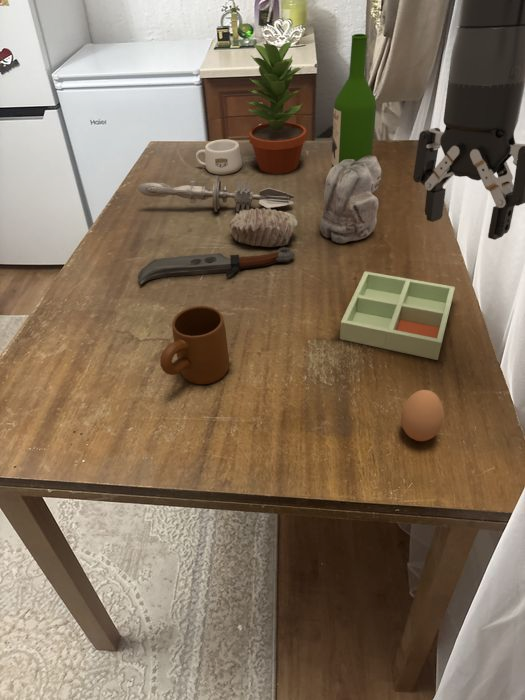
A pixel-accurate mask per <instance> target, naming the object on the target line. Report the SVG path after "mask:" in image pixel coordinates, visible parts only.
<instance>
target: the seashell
mask: <svg viewBox="0 0 525 700" xmlns="http://www.w3.org/2000/svg"><path fill="white" fill-rule="evenodd" d="M298 224H299V221H298V219H297V218H296V216H295V215H294V214H292V213H289V212H285V211H282V210H277V209H272V208H266V207H262V208H258V207H256V208H255V209H254V208H249V210H246V209H244V210H243V211H241V210H239V211H238V212H235V215H234V216H233V218H232V219H231V221H230V222H229V228H230V233H231V236H232V238H233V239H234V240H235V242H238V243H240V244H244V245H250V246H255V247H263V248H266V247H267V248H275V247H276V248H277V247H285V246H286V245H288V244H289V242H290V240H291V236H292V234H293V231H294V229H295V228H296V227H297V225H298Z"/></svg>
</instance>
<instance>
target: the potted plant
mask: <svg viewBox="0 0 525 700" xmlns="http://www.w3.org/2000/svg"><path fill="white" fill-rule="evenodd" d="M293 41H294V37H293V38H292V39H291V41H288V42H285V43H283V44H282V45H281V47H280V48H279V49H278V47H277V46H276V45H275V44H271V43H269V42H268V41H267V40H265V43H264V44H263V45H260V44H255V42H252V43H253V46H254V48H255V50H256V51H257V52H258V54H259V55H260V57H254V56H252V55H250V57H251V58H252V59H253V61H254V62H255V63H256V64H257V65H258V66H259V67H258V72H259V75H260V77H261V79H262V80H261V79H251V78H250V77H249V79H250V81H251V82H252V83H253V84H255V85H256V87H259V88H260V89H261V90H262V91H260V90H258V89H252V90H249V89H248V91H249V92H251V93H252V94H254V95H257V96H260V97H261V98H263V99H265V100H267V101H269V103H270V104H269V105H270V106H268V105H266V104H264V103H261V102H258V101H250V102H249V101H246V103H248V104H250V105H252V106H253V107H256V108H257V109H256V108H255V109H250V108H247V110H248V111H249V112H250V113H251V114H252V115H253V114H254V115H255V116H257V117H259V118H261V119H263V120H265V121H267V122H266V123H265V122H264V123H260V124H258V125H255V126H253V127H252V128H250V129H249V131H248V138H249V144H251V147H252V149H253V152H254V155H255V159H256V161H257V165H258V168H259V169H260V171H262V172H264V173H268V174H272V175H273V174H274V175H281V174H287V173H291V172H293V171H295V170H296V169H297V168H298V166H299V163H300V159H301V155H302V150H303V147H304V144H305V142H306V141H307V128H306V127H305V126H303V125H301V124H300V123H295V122H291V121H290V122H289V119H290V118H292V117H293V116H294V115H295V114H296V113H297V112H299V110H300V109H301V106H302V105H303V103H300V104H299V105H292V106H291V107H288V108H287V109H286V110H285V111H284V107H285V104H286V103H287V102H288V101H289V100H291V98H293V97H294V96H296V94H297V93H299V92H300V91H301V89H299V90H298V89H297V90H294V91H293V92H292V93H289V92H290V90H289V87H290V85H291V82H292V80H293V76H294V75H295V74H296V73H298V72H299V71H301V69H303V68H304V66H302V67H295V68H293V69H292V67H293V66H292V64H293V62H294V60H293V55H291V56H290V58H285V56H286V55H287V53H288V52H289V49H290V47H292V44H293ZM284 58H285V59H284Z"/></svg>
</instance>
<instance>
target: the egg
mask: <svg viewBox="0 0 525 700" xmlns="http://www.w3.org/2000/svg"><path fill="white" fill-rule="evenodd" d="M444 418H445V410H444V407H443V403H442V401H441V399H440V398H439V395H437V394H436V393H435V392H434V391H431V390H429V389H421V390H417V391H415V392H414V393H412V394H411V395H410V396H409V397H408V398H407V400H406V401H405V402H404V404H403V407H402V410H401V414H400V422H401V427H402V429H403V431H404V432H405V434H406V435H407V436H408V437H409V438H411V439H412V440H414V441H418V442H425V441H429V440H431V439H433V438H434V437H436V436H437V435H438V434H439V432H440V431H441V430H442V427H443V423H444Z"/></svg>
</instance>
